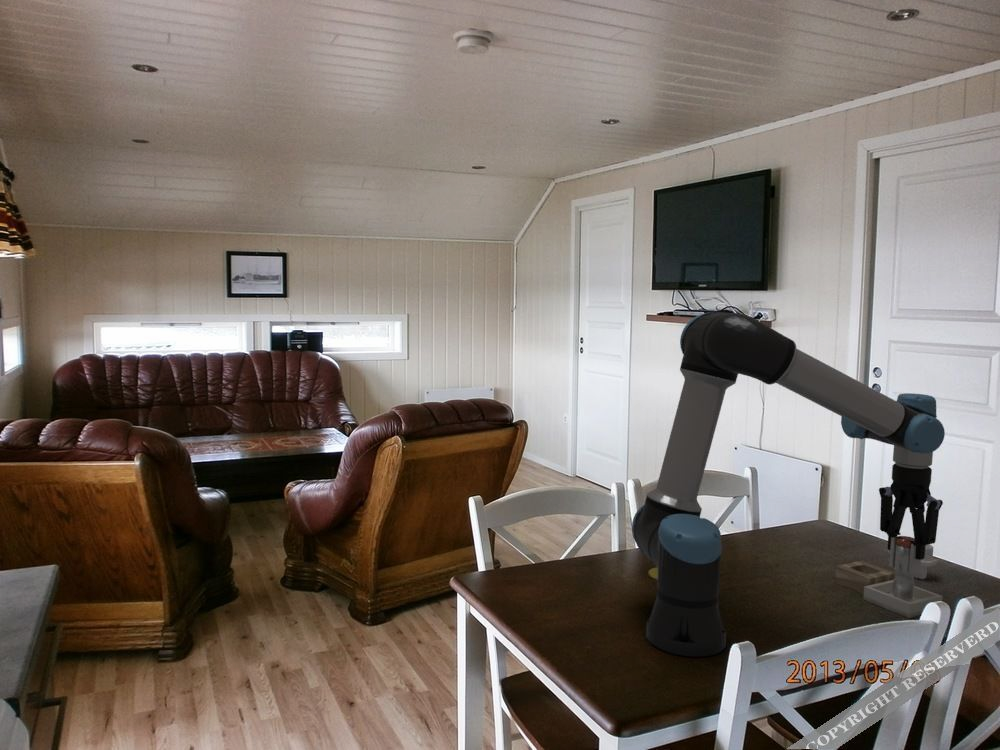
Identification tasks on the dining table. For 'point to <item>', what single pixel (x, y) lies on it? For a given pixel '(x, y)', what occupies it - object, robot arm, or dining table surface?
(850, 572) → the socket block
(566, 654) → the dining table surface
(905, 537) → the grey tall cylinder
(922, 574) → the pipe fitting
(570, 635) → the dining table surface
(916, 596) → the dish
